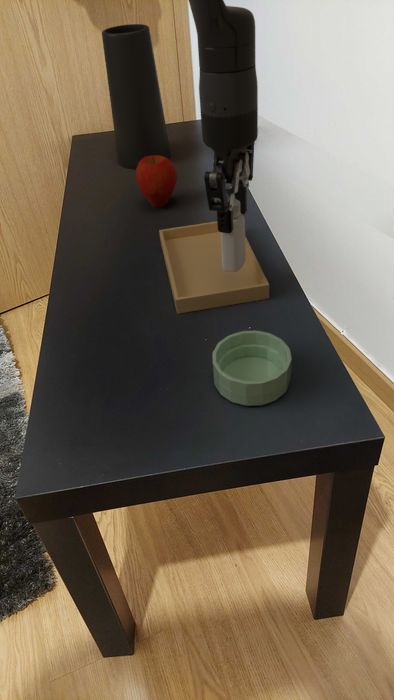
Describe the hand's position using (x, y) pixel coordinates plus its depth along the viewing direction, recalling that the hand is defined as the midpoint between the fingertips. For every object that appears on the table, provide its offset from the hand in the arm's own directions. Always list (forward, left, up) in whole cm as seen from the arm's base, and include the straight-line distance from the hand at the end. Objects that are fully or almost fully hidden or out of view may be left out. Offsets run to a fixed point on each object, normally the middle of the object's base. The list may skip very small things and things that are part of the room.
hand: (232, 221), depth 78 cm
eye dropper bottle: (0, 0, -8) cm, 8 cm away
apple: (+26, -24, -12) cm, 38 cm away
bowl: (-10, +20, -12) cm, 25 cm away
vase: (+42, -47, -12) cm, 65 cm away
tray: (+6, -4, -12) cm, 15 cm away
